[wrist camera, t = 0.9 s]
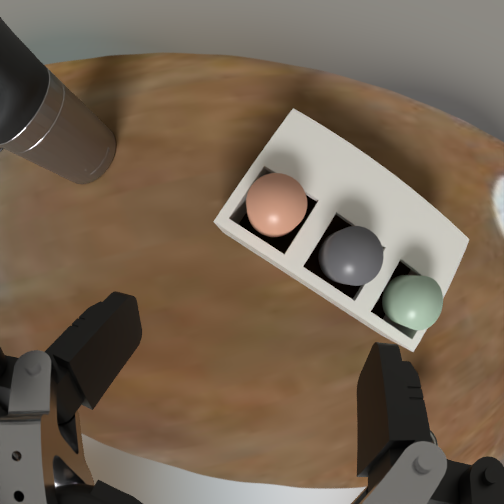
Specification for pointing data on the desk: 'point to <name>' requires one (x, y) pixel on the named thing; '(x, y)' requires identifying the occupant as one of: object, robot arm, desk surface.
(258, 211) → the terracotta button
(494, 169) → the desk surface
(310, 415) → the desk surface
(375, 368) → the robot arm
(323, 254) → the charcoal button
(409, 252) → the button console
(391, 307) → the sage button
